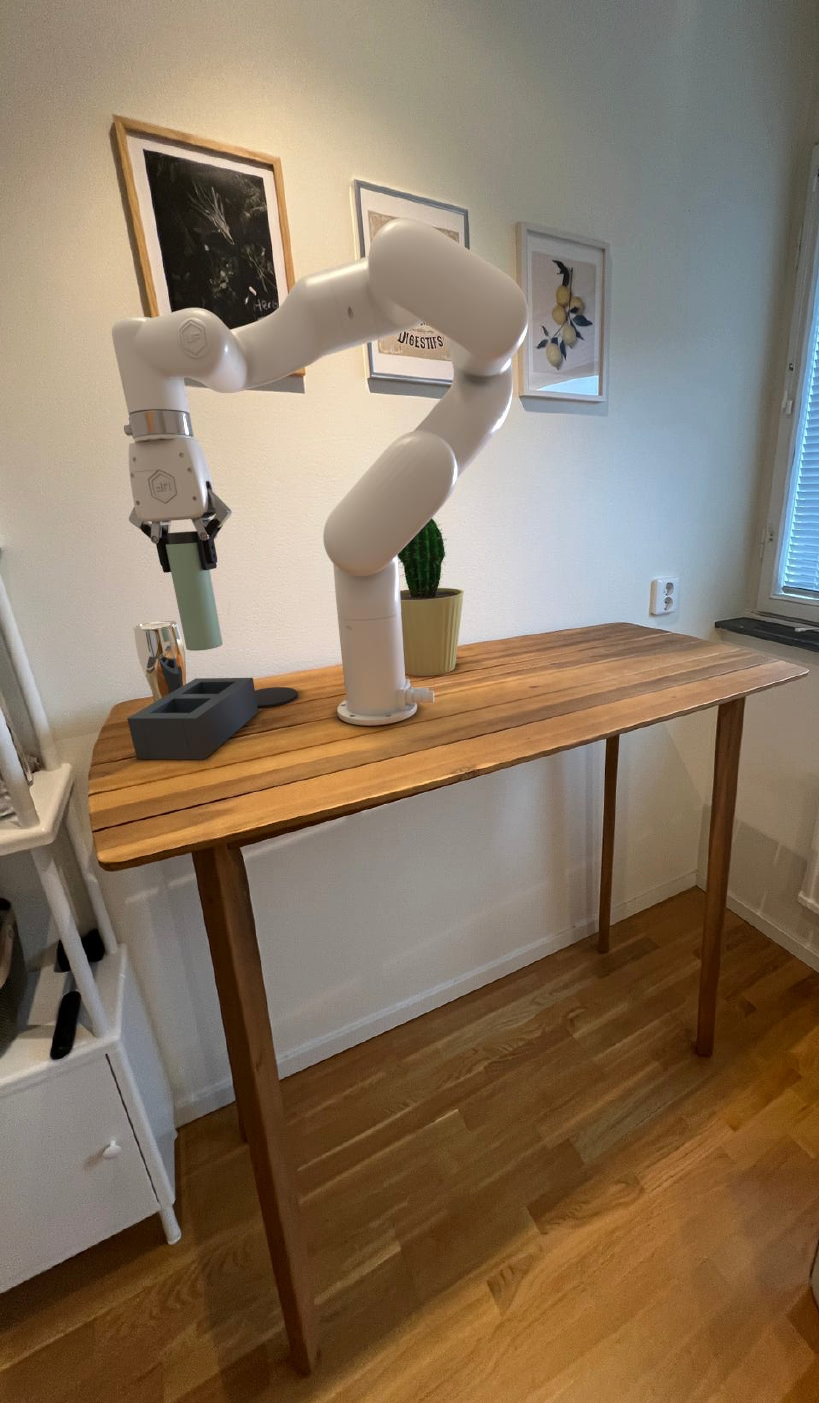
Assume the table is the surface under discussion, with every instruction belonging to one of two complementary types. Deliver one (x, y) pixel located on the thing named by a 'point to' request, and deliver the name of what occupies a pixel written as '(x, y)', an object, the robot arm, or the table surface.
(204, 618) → the bottle
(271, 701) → the coaster
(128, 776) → the table surface
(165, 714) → the holder
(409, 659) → the potted cactus
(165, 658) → the chrome tumbler
